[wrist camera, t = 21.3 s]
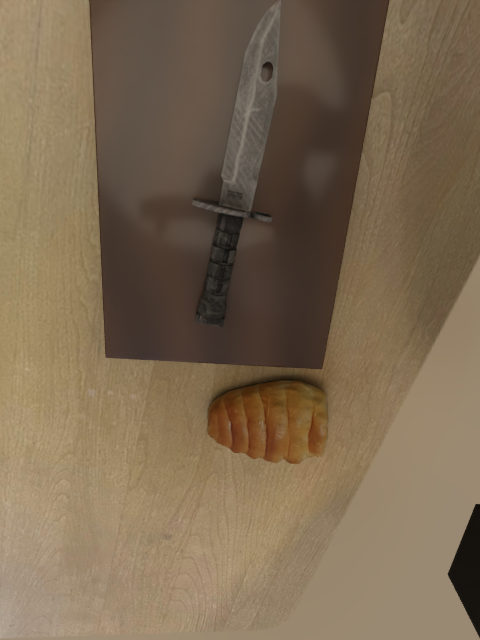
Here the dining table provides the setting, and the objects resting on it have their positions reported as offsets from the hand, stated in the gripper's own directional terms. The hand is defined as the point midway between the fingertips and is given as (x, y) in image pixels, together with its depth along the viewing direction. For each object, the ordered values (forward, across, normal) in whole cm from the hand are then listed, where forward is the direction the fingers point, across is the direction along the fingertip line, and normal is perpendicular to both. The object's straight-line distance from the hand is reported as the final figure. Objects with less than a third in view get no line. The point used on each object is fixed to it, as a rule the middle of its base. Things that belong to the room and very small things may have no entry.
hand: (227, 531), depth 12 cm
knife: (+20, 0, +7) cm, 21 cm away
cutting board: (+21, 0, +6) cm, 22 cm away
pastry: (+21, +5, -11) cm, 24 cm away
